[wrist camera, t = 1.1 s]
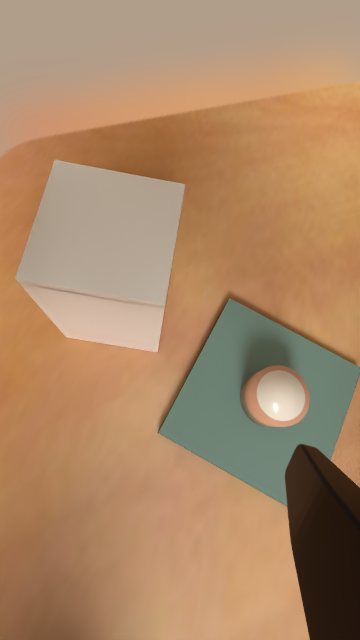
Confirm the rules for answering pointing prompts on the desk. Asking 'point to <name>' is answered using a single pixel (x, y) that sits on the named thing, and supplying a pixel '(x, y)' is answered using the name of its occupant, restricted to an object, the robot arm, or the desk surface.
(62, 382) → the desk surface
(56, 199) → the white lidded box
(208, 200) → the desk surface
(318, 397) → the mat
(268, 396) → the beige short cylinder
